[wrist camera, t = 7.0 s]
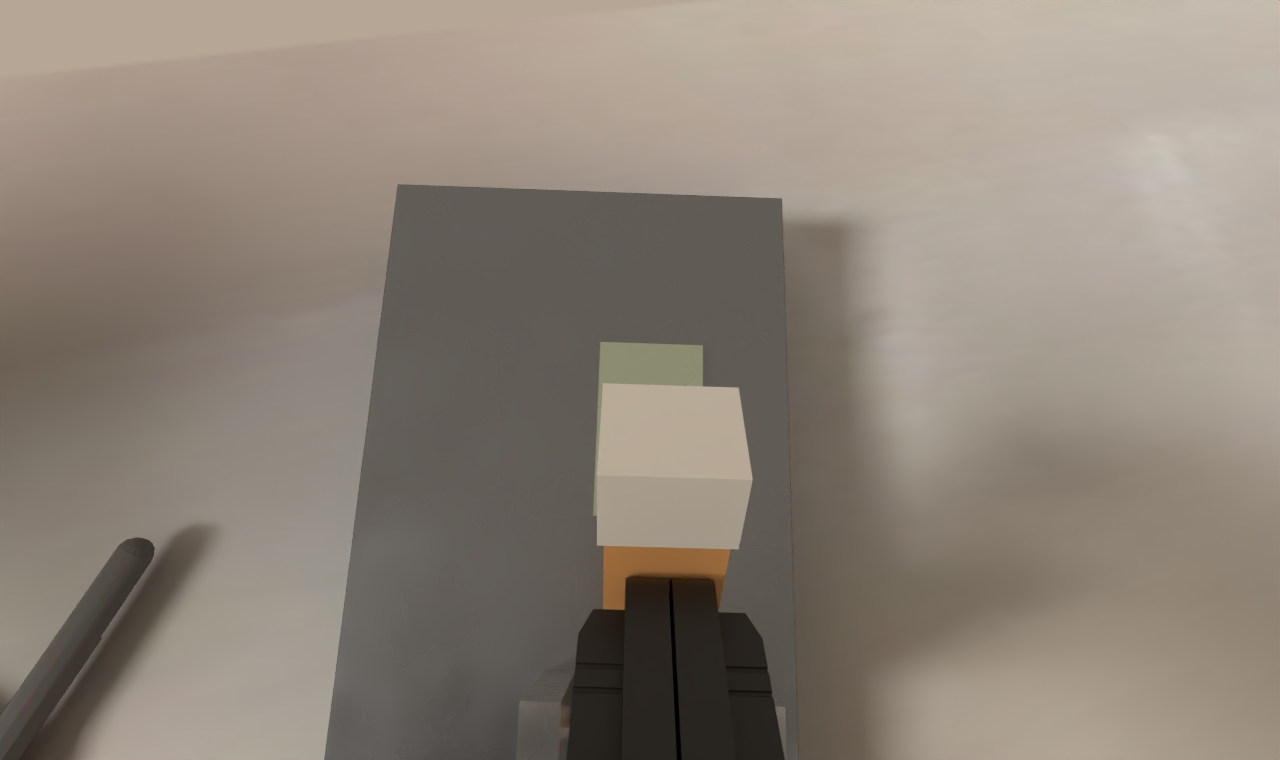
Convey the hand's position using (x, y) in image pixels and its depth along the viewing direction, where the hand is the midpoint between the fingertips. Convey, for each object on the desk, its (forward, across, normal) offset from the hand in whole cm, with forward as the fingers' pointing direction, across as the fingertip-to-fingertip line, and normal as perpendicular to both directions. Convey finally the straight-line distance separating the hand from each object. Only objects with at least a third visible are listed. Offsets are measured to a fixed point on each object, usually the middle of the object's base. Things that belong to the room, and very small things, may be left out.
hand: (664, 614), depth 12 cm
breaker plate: (+7, +2, +8) cm, 11 cm away
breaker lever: (+2, 0, +6) cm, 6 cm away
